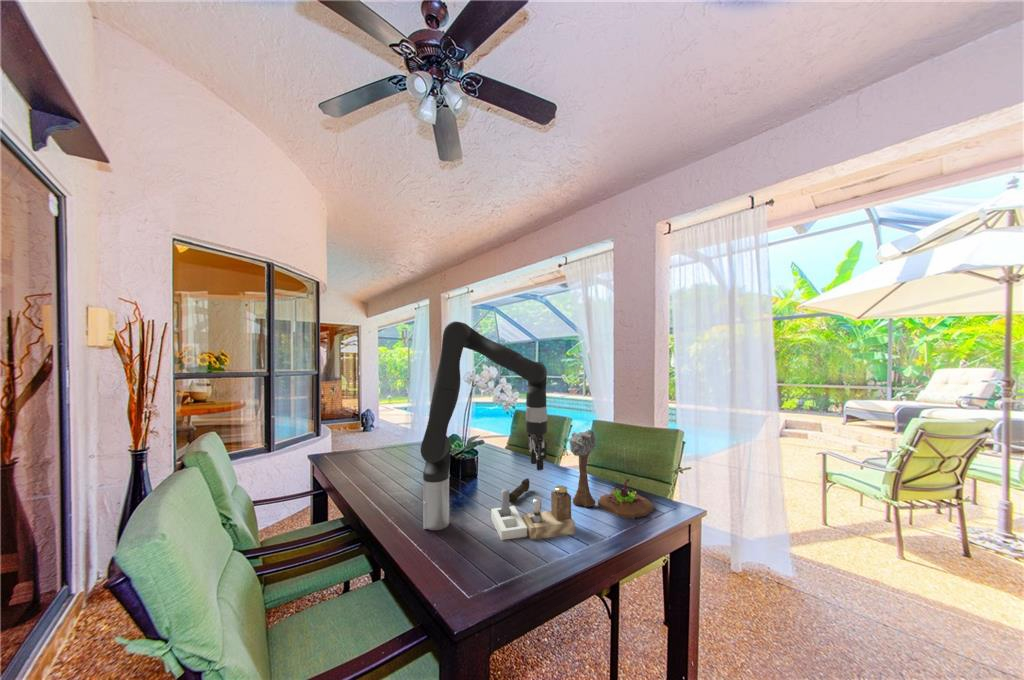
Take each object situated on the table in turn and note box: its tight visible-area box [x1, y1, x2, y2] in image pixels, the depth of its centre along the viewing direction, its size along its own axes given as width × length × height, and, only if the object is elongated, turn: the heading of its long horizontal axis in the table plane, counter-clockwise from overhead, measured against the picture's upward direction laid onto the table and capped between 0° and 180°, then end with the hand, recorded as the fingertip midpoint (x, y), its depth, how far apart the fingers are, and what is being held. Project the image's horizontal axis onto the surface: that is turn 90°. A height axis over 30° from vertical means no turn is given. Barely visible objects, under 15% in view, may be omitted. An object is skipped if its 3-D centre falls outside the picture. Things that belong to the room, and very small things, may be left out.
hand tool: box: [509, 478, 530, 504], centre depth 159 cm, size 19×4×5 cm, turn 152°
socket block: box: [521, 490, 576, 541], centre depth 129 cm, size 16×10×13 cm, turn 105°
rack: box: [490, 488, 528, 541], centre depth 131 cm, size 9×17×12 cm, turn 15°
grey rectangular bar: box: [532, 497, 542, 523], centre depth 128 cm, size 3×3×12 cm
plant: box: [597, 478, 654, 519], centre depth 148 cm, size 20×20×11 cm
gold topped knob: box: [554, 485, 568, 496], centre depth 130 cm, size 4×4×7 cm
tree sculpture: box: [568, 429, 597, 508], centre depth 151 cm, size 15×10×30 cm
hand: (536, 466), depth 128 cm, fingers open, 6 cm apart
